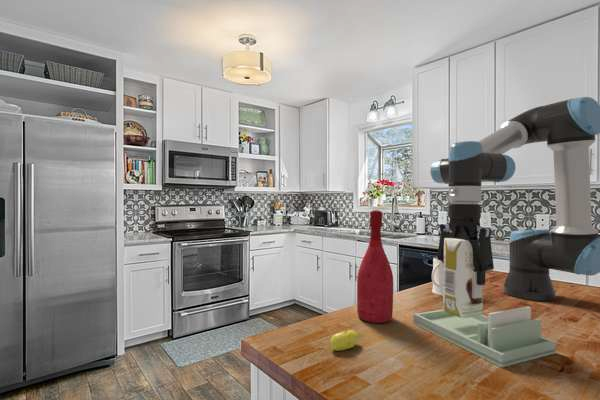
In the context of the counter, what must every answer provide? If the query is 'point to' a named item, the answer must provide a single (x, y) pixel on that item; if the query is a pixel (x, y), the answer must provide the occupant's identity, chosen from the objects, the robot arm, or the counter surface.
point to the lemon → (344, 340)
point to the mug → (437, 276)
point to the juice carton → (459, 279)
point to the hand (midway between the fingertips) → (462, 292)
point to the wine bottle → (375, 278)
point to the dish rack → (492, 334)
